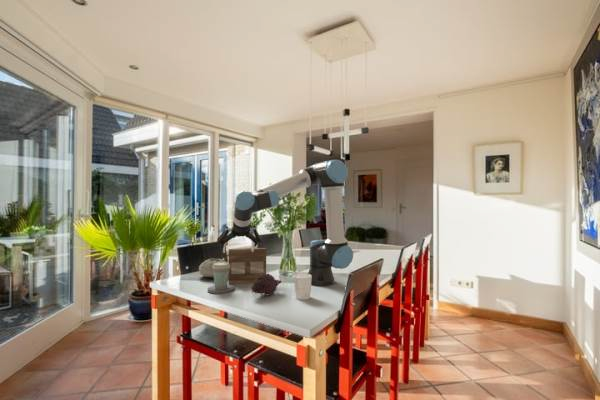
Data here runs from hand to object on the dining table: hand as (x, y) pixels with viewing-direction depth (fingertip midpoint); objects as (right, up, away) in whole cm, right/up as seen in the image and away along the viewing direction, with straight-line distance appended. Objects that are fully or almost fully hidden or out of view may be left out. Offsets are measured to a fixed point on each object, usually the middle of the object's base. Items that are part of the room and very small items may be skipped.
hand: (238, 250), depth 146 cm
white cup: (+31, -20, -9) cm, 38 cm away
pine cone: (+14, -20, -6) cm, 25 cm away
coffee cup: (-9, -19, +2) cm, 21 cm away
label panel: (+2, -20, +16) cm, 26 cm away
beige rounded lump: (-19, -20, +27) cm, 39 cm away
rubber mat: (-9, -20, +2) cm, 22 cm away
